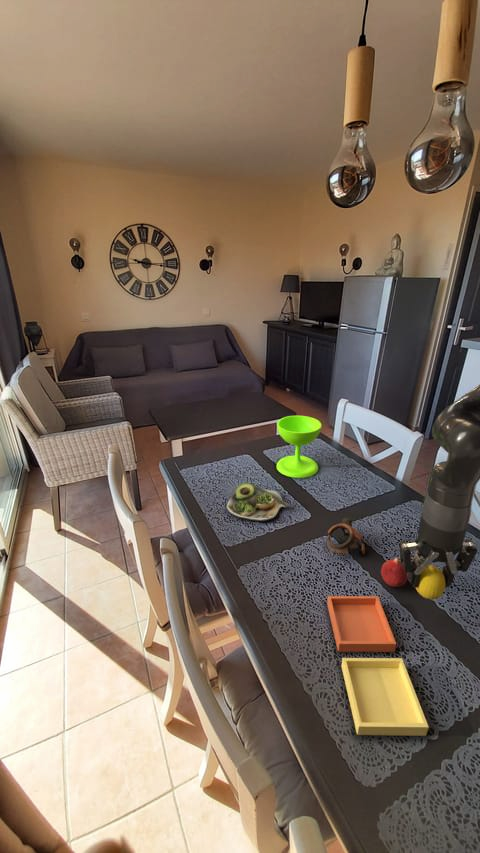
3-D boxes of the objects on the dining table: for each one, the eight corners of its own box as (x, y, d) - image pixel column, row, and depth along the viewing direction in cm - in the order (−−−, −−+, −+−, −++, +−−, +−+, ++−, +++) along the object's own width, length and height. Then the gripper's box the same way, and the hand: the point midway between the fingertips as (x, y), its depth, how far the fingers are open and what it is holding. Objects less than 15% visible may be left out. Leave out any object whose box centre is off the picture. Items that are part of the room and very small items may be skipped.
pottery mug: (369, 564, 93) (357, 546, 90) (334, 569, 98) (322, 552, 94) (365, 525, 102) (354, 508, 99) (333, 531, 107) (322, 514, 103)
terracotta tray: (376, 604, 82) (377, 596, 81) (394, 652, 72) (396, 643, 71) (327, 603, 82) (327, 596, 81) (338, 652, 72) (339, 643, 71)
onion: (410, 591, 85) (416, 565, 82) (389, 597, 84) (394, 571, 80) (394, 572, 90) (399, 548, 87) (374, 578, 89) (378, 553, 85)
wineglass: (268, 470, 137) (268, 426, 129) (288, 453, 149) (289, 412, 141) (307, 482, 128) (310, 437, 121) (325, 463, 140) (328, 420, 133)
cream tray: (400, 666, 69) (402, 658, 68) (426, 735, 59) (428, 727, 58) (341, 666, 70) (342, 657, 69) (357, 735, 59) (358, 726, 58)
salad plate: (295, 496, 121) (295, 484, 119) (281, 529, 106) (281, 517, 104) (241, 485, 127) (240, 474, 126) (221, 516, 112) (220, 504, 110)
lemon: (443, 611, 71) (450, 581, 68) (412, 603, 73) (418, 574, 70) (439, 589, 76) (446, 560, 73) (410, 582, 78) (416, 554, 75)
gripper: (413, 531, 63) (400, 600, 70) (497, 529, 62) (476, 599, 69) (397, 505, 70) (386, 570, 77) (473, 503, 69) (455, 569, 76)
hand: (429, 583), depth 73 cm, fingers closed on lemon, 5 cm apart
